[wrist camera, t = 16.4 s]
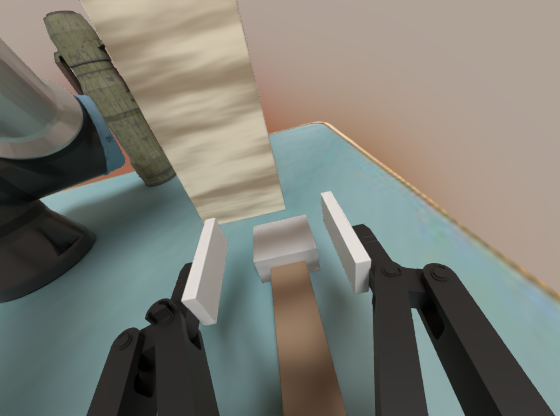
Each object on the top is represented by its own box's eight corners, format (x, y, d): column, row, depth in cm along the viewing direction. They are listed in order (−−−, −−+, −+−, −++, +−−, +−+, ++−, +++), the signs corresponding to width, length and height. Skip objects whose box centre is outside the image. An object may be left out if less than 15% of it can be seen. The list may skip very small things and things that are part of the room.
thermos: (144, 178, 62) (43, 26, 42) (183, 166, 63) (103, 13, 43) (135, 192, 55) (8, 16, 35) (179, 178, 56) (81, 1, 36)
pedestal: (285, 209, 35) (220, -64, 18) (206, 227, 36) (67, -22, 18) (279, 181, 43) (230, -25, 26) (215, 196, 44) (124, 4, 26)
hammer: (371, 428, 14) (375, 416, 12) (270, 448, 14) (255, 440, 12) (308, 236, 30) (305, 214, 27) (260, 247, 30) (253, 226, 27)
